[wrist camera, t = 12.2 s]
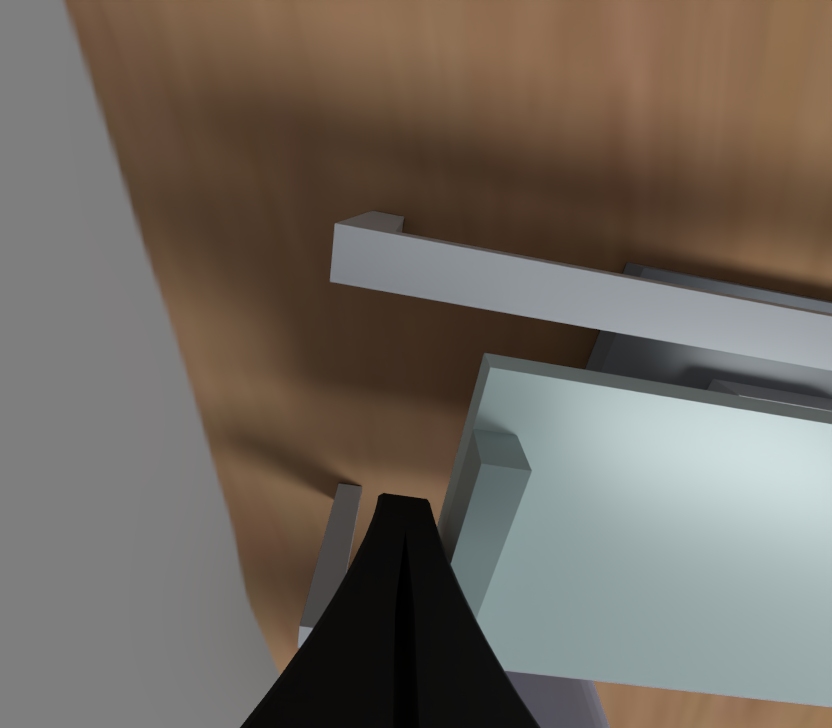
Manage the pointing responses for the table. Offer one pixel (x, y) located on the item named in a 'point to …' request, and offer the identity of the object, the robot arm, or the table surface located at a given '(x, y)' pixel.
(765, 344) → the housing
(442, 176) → the table surface
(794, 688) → the lid
